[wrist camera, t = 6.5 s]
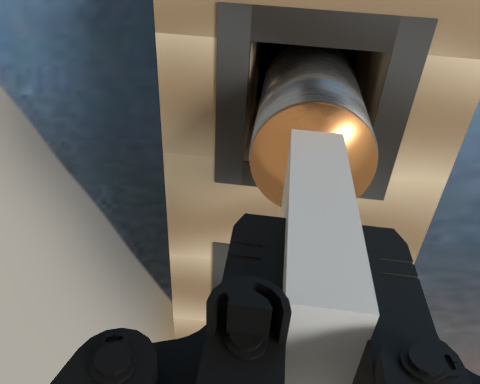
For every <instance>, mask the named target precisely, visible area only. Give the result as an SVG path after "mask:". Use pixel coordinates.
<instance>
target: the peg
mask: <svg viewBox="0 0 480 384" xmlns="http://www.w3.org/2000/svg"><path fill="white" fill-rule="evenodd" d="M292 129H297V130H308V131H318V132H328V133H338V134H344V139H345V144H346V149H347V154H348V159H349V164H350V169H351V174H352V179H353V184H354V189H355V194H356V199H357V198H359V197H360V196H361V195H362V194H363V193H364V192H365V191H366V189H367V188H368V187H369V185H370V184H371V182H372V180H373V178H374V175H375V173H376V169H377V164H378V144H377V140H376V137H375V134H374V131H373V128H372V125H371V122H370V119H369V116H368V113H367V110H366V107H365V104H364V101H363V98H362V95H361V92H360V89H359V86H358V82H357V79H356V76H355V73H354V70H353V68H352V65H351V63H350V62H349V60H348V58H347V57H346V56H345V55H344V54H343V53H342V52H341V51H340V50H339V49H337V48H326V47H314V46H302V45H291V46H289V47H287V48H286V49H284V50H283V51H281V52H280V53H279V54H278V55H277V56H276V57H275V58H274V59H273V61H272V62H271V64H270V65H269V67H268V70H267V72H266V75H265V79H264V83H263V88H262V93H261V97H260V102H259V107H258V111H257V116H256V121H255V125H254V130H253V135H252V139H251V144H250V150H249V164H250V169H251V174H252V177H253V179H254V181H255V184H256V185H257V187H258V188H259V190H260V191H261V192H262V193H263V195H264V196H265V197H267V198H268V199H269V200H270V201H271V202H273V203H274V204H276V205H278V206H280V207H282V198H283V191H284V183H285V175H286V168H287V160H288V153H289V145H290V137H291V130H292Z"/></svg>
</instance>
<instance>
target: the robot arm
mask: <svg viewBox="0 0 480 384" xmlns="http://www.w3.org/2000/svg"><path fill="white" fill-rule="evenodd" d="M417 276H418V275H417V272H416V269H415V265H414V264H413V259H412V256H411V253H410V250H409V247H408V244H407V243H406V242H405V241H404V240H403V238H402V237H401V236H400V235H399V234H398V233H397V232H396V231H395V229H393V228H384V227H375V226H366V225H362V224H361V219H360V214H359V209H358V204H357V199H356V194H355V189H354V184H353V179H352V174H351V169H350V164H349V159H348V154H347V149H346V144H345V139H344V134H338V133H328V132H318V131H308V130H297V129H292V130H291V137H290V145H289V153H288V160H287V168H286V175H285V183H284V191H283V198H282V207H281V217H274V216H265V215H256V214H247V213H245V214H244V215H243V216H242V217H241V218H240V219H239V220H238V221H237V222H236V223H235V225H234V226H233V230H232V235H231V240H230V245H229V249H228V254H227V259H226V264H225V268H224V273H223V278H222V282H221V283H220V284H219V285H218V286H216V287H215V288H214V289H213V290H212V291H211V293H210V295H209V297H208V299H207V301H206V325H205V326H204V327H203V328H201V329H200V330H199V331H197V332H195V333H193V334H191V335H189V336H186V337H182V338H179V339H174V340H168V341H161V342H156V343H152V342H151V341H150V339H149V338H148V337H146V336H145V335H143V334H142V333H140V332H139V331H137V330H132V329H126V328H118V329H111V330H106V331H104V332H102V333H99V334H98V335H95V336H93V337H91V338H90V339H89V340H88V341H87V342H85V343H84V344H83V345H82V346H81V347H80V348H79V349H78V350H77V351H76V352H75V354H74V355H73V356H72V358H71V359H70V360H69V361H68V362H67V363H66V365H65V366H64V367H63V368H62V370H61V371H60V372H59V374H58V375H57V376H56V377H55V378H54V380H53V381H52V382H51V383H50V384H480V376H478V375H476V374H474V373H472V372H470V371H469V370H468V369H466V368H465V367H464V365H463V363H462V361H461V360H460V358H459V356H458V355H457V354H456V353H455V352H454V351H453V350H452V349H451V348H450V347H449V346H448V345H447V344H446V343H445V342H443V341H441V340H440V339H439V337H438V335H437V333H436V330H435V327H434V324H433V321H432V317H431V314H430V311H429V308H428V305H427V302H426V299H425V296H424V293H423V290H422V287H421V284H420V281H419V279H418V278H417Z"/></svg>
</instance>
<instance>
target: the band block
mask: <svg viewBox="0 0 480 384" xmlns="http://www.w3.org/2000/svg"><path fill="white" fill-rule="evenodd" d="M153 6H154V21H155V37H156V52H157V68H158V84H159V99H160V115H161V130H162V146H163V161H164V177H165V193H166V208H167V224H168V239H169V255H170V271H171V286H172V302H173V316H174V332H175V339H179V338H182V337H186V336H189V335H191V334H193V333H195V332H197V331H199V330H200V329H201V328H203V327H204V326H205V325H206V301H207V299H208V297H209V295H210V293H211V291H212V290H213V289H214V288H215V287H216V286H218V285H219V284H220V283H221V282H222V278H223V273H224V268H225V264H226V259H227V254H228V249H229V245H230V240H231V235H232V230H233V226H234V225H235V223H236V222H237V221H238V220H239V219H240V218H241V217H242V216H243V215H244V214H245V213H247V214H256V215H265V216H274V217H281V207H280V206H278V205H276V204H274V203H273V202H271V201H270V200H269V199H268V198H267V197H265V196H264V195H263V193H262V192H261V191H260V190H259V188H258V187H257V185H256V184H255V181H254V179H253V177H252V174H251V169H250V164H249V150H250V144H251V139H252V135H253V130H254V125H255V121H256V116H257V111H258V107H259V102H260V100H258V99H257V93H258V80H259V67H260V53H261V42H266V43H278V44H290V45H302V46H314V47H326V48H338V49H350V50H358V52H357V57H356V62H355V67H354V73H355V76H356V79H357V82H358V86H359V89H360V92H361V95H362V98H363V101H364V104H365V107H366V110H367V113H368V116H369V119H370V122H371V125H372V128H373V131H374V134H375V137H376V140H377V144H378V164H377V169H376V173H375V175H374V178H373V180H372V182H371V184H370V185H369V187H368V188H367V189H366V191H365V192H364V193H363V194H362V195H361V196H360V197H359V198H357V204H358V209H359V214H360V219H361V224H362V225H366V226H375V227H384V228H393V229H395V231H396V232H397V233H398V234H399V235H400V236H401V237H402V238H403V240H404V241H405V242H406V243H407V244H408V247H409V250H410V253H411V256H412V259H413V264H414V263H415V260H416V258H417V255H418V253H419V250H420V248H421V245H422V243H423V240H424V238H425V235H426V233H427V230H428V228H429V225H430V223H431V220H432V218H433V215H434V213H435V210H436V207H437V205H438V202H439V200H440V197H441V195H442V192H443V190H444V187H445V185H446V182H447V180H448V177H449V175H450V172H451V170H452V167H453V165H454V162H455V160H456V157H457V155H458V152H459V150H460V147H461V145H462V142H463V140H464V137H465V135H466V132H467V130H468V127H469V124H470V122H471V119H472V117H473V114H474V112H475V109H476V107H477V104H478V102H479V99H480V0H153Z"/></svg>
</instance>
